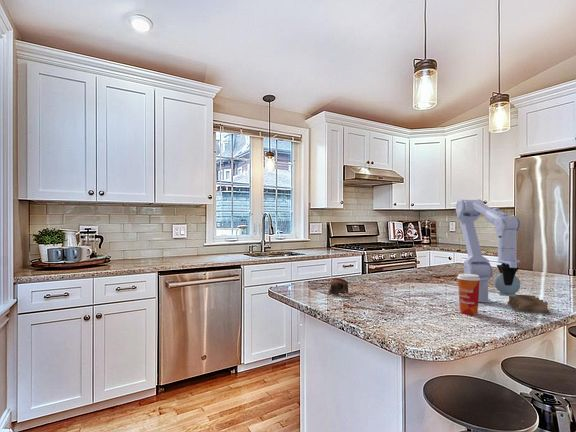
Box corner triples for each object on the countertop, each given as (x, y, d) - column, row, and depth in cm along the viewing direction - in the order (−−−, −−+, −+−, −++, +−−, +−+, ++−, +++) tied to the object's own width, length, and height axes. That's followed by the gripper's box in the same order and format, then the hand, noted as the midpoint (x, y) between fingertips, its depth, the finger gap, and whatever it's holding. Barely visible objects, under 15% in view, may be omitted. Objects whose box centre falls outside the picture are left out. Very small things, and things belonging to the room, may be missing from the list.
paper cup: (452, 311, 124) (452, 274, 124) (467, 309, 127) (467, 272, 127) (470, 317, 117) (470, 277, 117) (486, 314, 119) (485, 276, 120)
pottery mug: (323, 294, 156) (327, 277, 159) (339, 301, 159) (343, 285, 162) (337, 292, 146) (341, 274, 149) (354, 300, 148) (358, 283, 152)
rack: (517, 311, 124) (517, 300, 125) (507, 303, 136) (507, 293, 136) (549, 313, 121) (549, 302, 121) (536, 305, 132) (536, 295, 132)
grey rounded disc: (495, 295, 124) (495, 272, 124) (494, 294, 125) (494, 271, 125) (520, 296, 121) (520, 273, 121) (519, 295, 123) (518, 272, 123)
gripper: (527, 250, 115) (527, 289, 115) (512, 246, 129) (513, 281, 129) (503, 249, 118) (504, 287, 117) (492, 246, 131) (492, 280, 131)
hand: (507, 284), depth 123 cm, fingers closed on grey rounded disc, 2 cm apart
